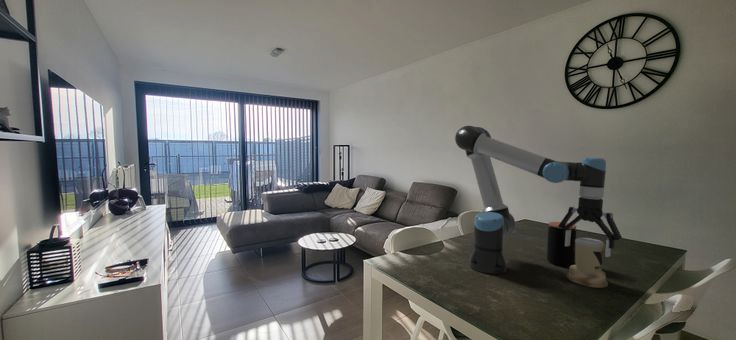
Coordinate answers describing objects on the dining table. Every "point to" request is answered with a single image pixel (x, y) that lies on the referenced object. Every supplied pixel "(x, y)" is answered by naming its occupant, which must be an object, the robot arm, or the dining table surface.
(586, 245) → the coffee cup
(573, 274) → the pedestal
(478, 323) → the dining table surface
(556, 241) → the coffee jar
